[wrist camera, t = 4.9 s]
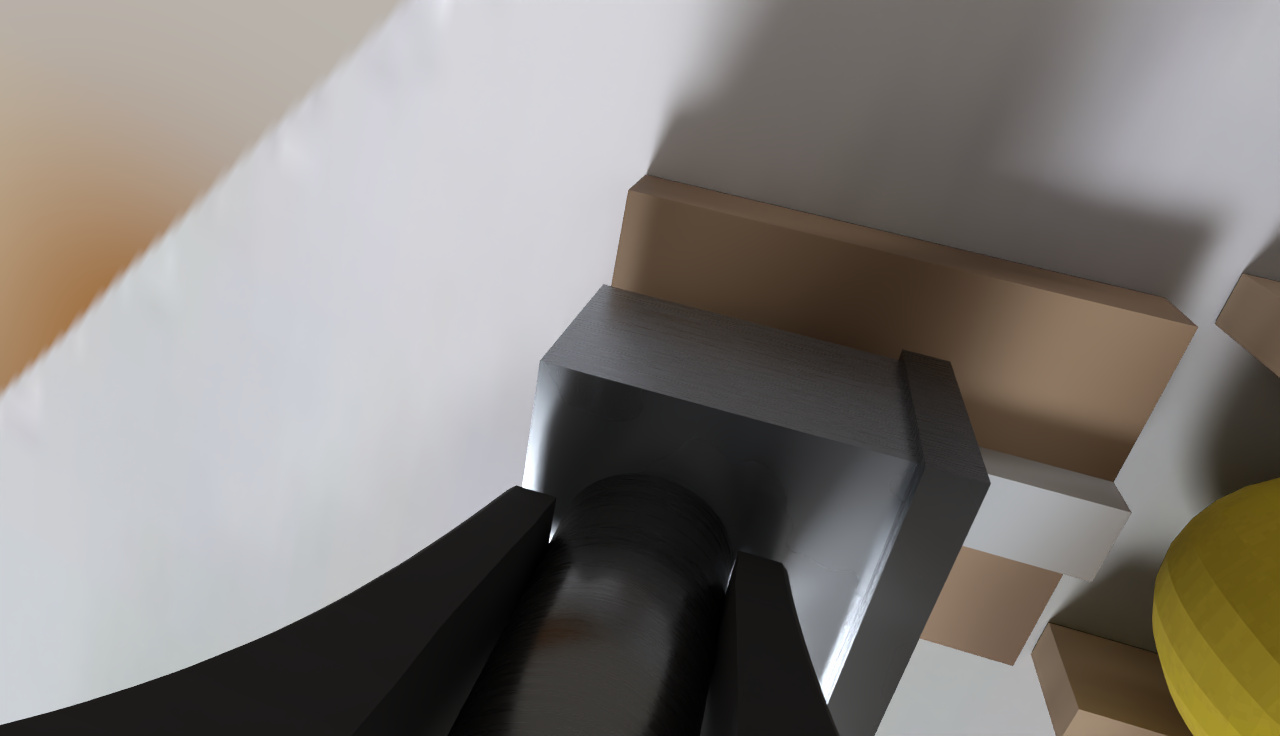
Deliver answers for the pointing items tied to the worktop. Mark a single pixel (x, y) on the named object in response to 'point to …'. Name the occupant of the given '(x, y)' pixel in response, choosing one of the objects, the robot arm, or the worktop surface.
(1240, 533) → the lemon
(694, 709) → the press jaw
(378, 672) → the robot arm
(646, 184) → the press bed
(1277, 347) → the lemon cradle
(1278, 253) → the worktop surface
